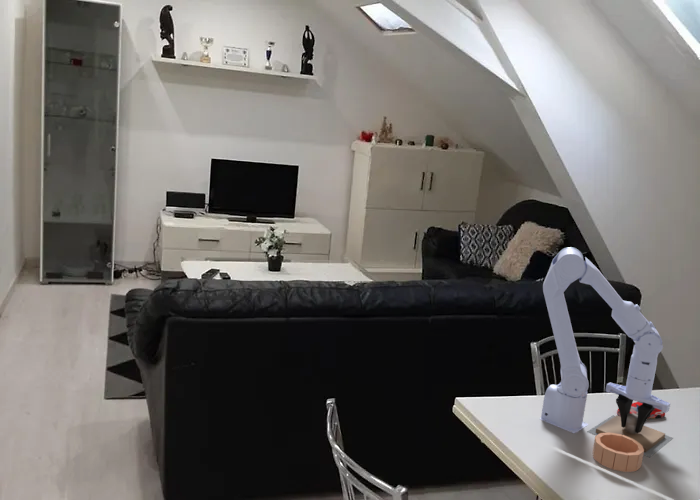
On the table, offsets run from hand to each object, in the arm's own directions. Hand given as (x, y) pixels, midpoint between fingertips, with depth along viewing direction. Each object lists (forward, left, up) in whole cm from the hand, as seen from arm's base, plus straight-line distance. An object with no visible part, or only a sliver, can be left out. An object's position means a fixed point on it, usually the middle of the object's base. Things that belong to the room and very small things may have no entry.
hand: (631, 428), depth 162 cm
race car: (-3, +14, -3) cm, 15 cm away
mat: (0, 0, -2) cm, 2 cm away
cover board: (0, 0, -2) cm, 2 cm away
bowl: (+3, -15, -2) cm, 15 cm away
